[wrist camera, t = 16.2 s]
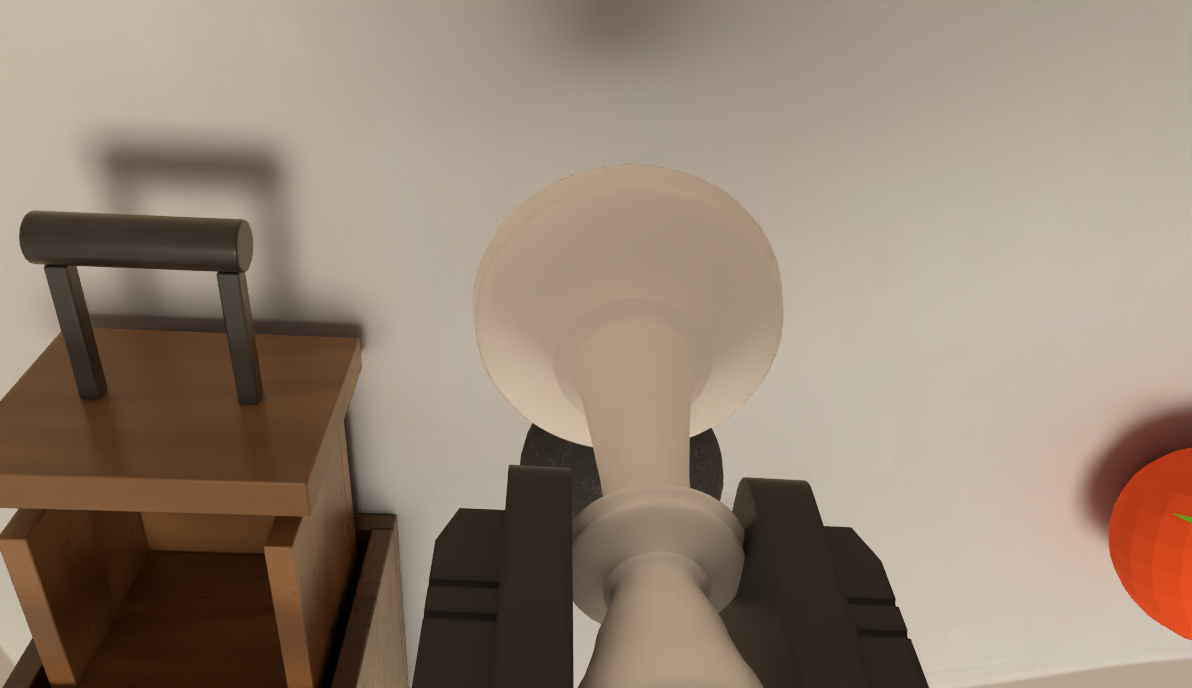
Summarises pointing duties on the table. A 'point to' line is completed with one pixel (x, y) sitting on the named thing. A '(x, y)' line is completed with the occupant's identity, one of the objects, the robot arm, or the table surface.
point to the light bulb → (584, 470)
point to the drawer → (176, 476)
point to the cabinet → (366, 631)
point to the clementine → (1157, 540)
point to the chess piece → (638, 396)
